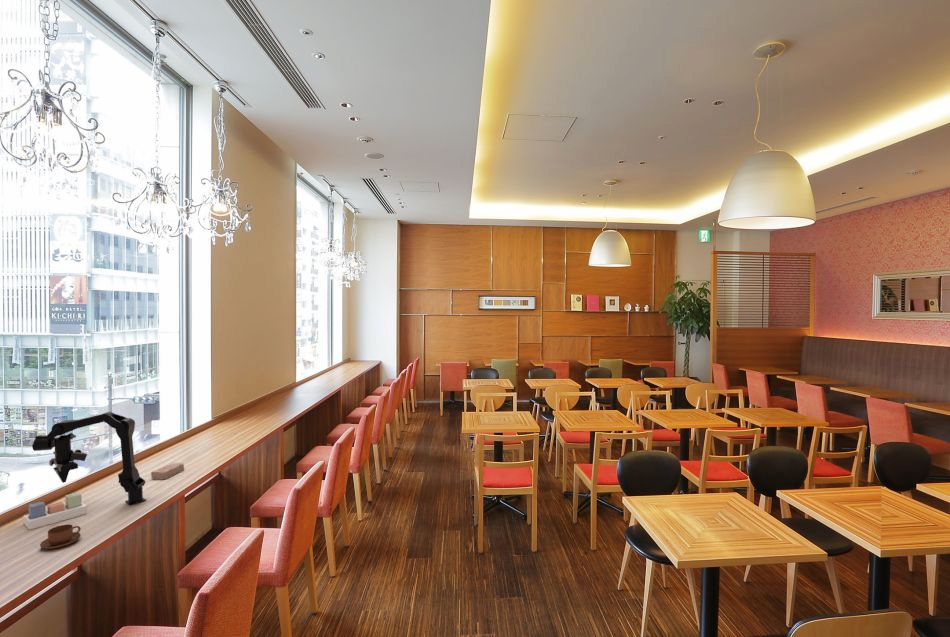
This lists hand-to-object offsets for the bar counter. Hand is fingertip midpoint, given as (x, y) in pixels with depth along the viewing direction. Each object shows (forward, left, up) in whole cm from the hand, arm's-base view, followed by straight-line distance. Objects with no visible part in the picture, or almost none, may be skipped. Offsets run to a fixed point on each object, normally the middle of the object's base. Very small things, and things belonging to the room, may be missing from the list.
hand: (64, 482), depth 221 cm
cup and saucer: (-42, +11, -13) cm, 45 cm away
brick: (+12, -48, -13) cm, 51 cm away
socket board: (-10, +5, -12) cm, 17 cm away
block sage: (-10, -1, -10) cm, 14 cm away
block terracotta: (-10, +5, -12) cm, 17 cm away
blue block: (-10, +11, -10) cm, 18 cm away
